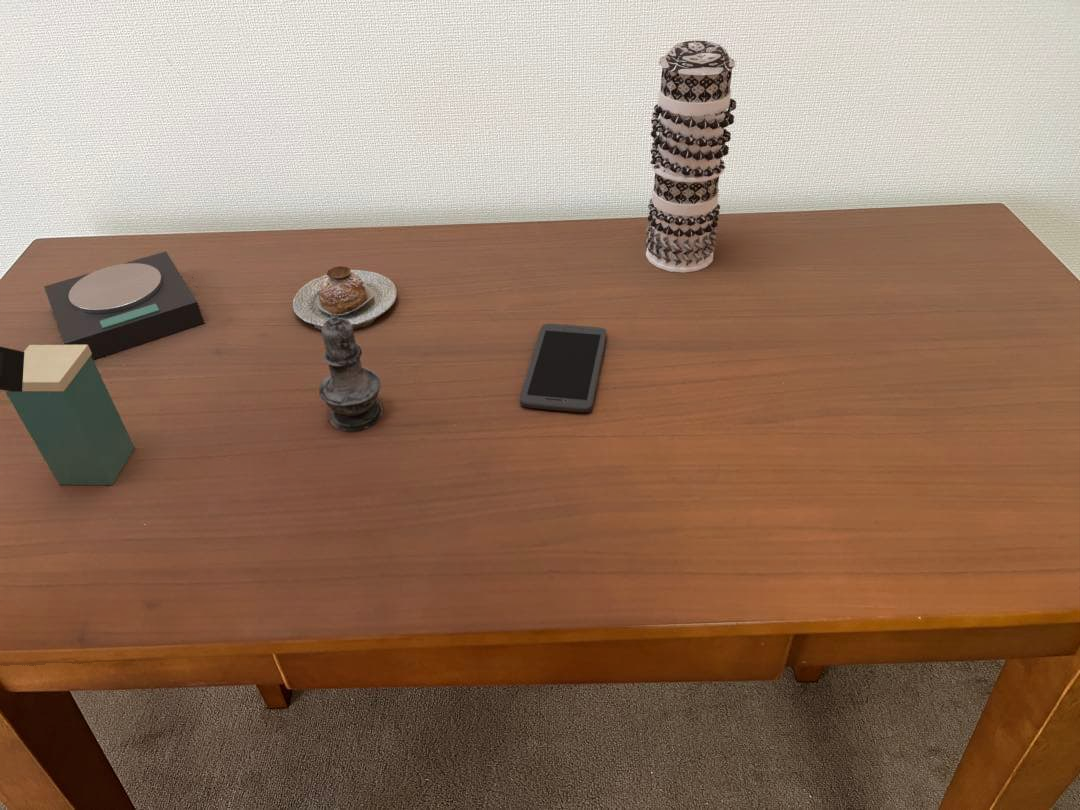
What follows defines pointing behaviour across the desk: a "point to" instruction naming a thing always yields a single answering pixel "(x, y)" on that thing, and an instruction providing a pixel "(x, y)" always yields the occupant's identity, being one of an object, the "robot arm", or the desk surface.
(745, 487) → the desk surface
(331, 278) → the pastry
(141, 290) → the scale pan
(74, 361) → the spice tin
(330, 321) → the dark grey piece
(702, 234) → the decorative candle
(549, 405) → the cell phone
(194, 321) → the scale
